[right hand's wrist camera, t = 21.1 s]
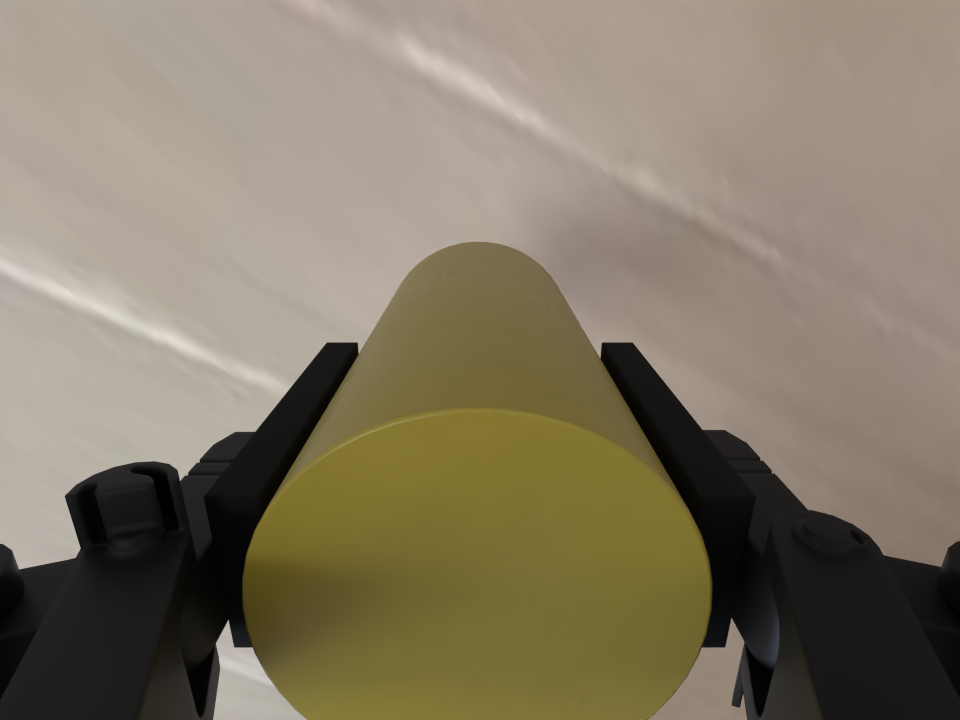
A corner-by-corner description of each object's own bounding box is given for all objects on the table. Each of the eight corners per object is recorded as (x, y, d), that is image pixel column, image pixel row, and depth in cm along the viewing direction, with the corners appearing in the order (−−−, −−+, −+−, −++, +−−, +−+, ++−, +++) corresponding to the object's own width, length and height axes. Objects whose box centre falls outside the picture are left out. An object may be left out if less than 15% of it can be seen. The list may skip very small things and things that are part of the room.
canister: (590, 263, 18) (790, 463, 6) (543, 428, 20) (631, 803, 8) (404, 223, 17) (257, 360, 6) (376, 395, 19) (227, 746, 8)
